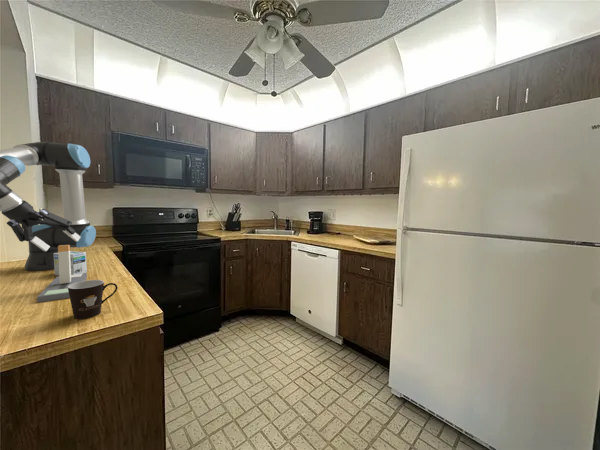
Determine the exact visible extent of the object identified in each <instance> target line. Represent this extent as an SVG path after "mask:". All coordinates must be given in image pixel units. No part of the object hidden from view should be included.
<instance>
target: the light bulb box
mask: <svg viewBox="0 0 600 450" xmlns="http://www.w3.org/2000/svg"><path fill="white" fill-rule="evenodd" d="M70 259H71V275H75V274H86V273H87V274H88V266H87V252H86V251H71V250H70ZM53 271H54V276H59V258H58V253H54V269H53Z"/></svg>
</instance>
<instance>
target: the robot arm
mask: <svg viewBox="0 0 600 450" xmlns="http://www.w3.org/2000/svg"><path fill="white" fill-rule="evenodd" d="M35 165H36V166H49V167H54V170H55V171H56V172H57V173H58V174H59V182H60V193H61V202H62V210H63V216H59V215H56V214H55V213H52V212H50V211H49V210H47V209H46V208H42V209H41V210H40V211H39V210H38V211H36V210H35V209H34V206H33V205H32V204H30V203H29V202H28V201H26V200H23V199H24V198H23V197H21V196H20V195H19V194H18V193H16V192H15V191H13V190H12V188H10V187H9V186H8V184H9V183H11V182H13V181H14V180H15V179H17V178H18V177H21V175H22V174H23V173H24V172H25V171H26V166H35ZM90 166H91V156H90V154H89V152H88V150H87V149H86V148H85V147H84V146H82V145H80V144H75V143H64V142H51V141H37V142H30V143H28V142H27V143H23V144H16V145H14V146H13V147H11V148H10V147H9V148H4V149H0V212H1V214H2V215H3V216H5V217H6V218H7V219H9V220H8V221H6V224H7V226H9V227H10V228H11V230H12V231H13V233H14V235H15V236H16V238H17V239H18V241H19V242H22V243H23V242H24V241H25V242H28V252H29V253H28V257H27V259H26V262H25V264H24V270H25V271H27V272H28V271H31V272H32V271H33V272H34V271H36V272H38V271H49V270H54V253H58V246H59V245H70V248H87V247H90V246H91V245H92V244H93V243H94V241H95V239H96V236H97V231H96V230H97V229H96V228H95V226H93V225H91V222H90V220H87V218H86V216H87V215H86V206H85V205H86V204H85V194H84V193H85V192H84V182H83V181H84V180H83V174H85V173H86V169H88V168H90Z"/></svg>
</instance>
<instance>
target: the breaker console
mask: <svg viewBox="0 0 600 450" xmlns="http://www.w3.org/2000/svg"><path fill="white" fill-rule="evenodd" d="M87 279H88V272H87V273H84V274H75V275H71V282H70V283H63V284H60V279H59V275H56V277H55V278H54V279H53V280H52V281H51V282H50V283H49V284H48V285H47V286H46V288H44V289H43V290H42V291H41V293H39V295H38V296H36V297H37V298H36V299H37V303H42V302H50V301H51V302H52V301H57V300H58V301H59V300H65V299H66V300H67V299H70V296H69V291H68V286H69V285H71V284H73V283H77V282H81V281H87Z"/></svg>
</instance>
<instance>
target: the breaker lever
mask: <svg viewBox="0 0 600 450" xmlns="http://www.w3.org/2000/svg"><path fill="white" fill-rule="evenodd" d="M70 251H71V247H70V245H59V246H58V258H59V275H58V276H59V279H60V284H63V283H70V282H71V259H70Z"/></svg>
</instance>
